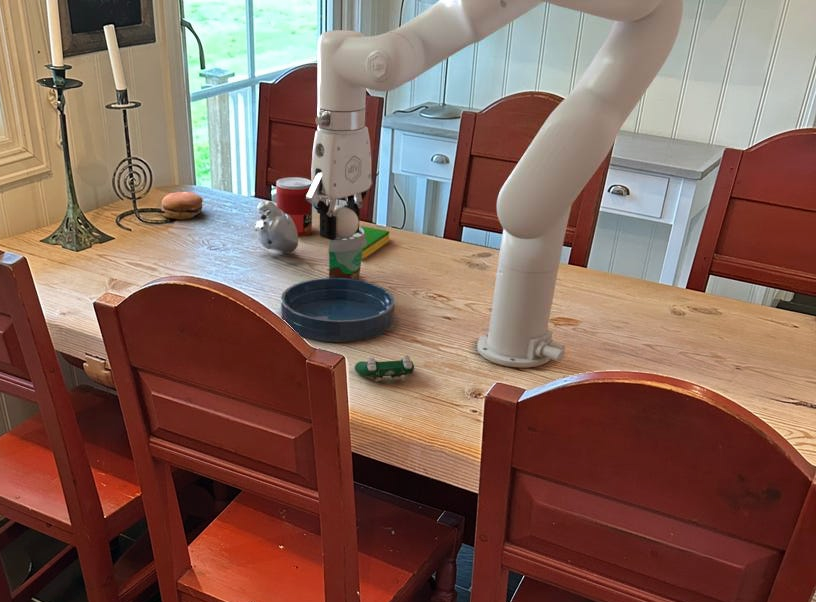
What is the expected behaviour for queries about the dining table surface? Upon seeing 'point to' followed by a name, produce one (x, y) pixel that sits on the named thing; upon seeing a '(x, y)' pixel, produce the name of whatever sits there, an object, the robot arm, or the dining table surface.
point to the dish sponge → (374, 240)
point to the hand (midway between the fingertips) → (339, 233)
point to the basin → (338, 309)
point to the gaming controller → (385, 368)
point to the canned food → (295, 202)
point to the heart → (276, 228)
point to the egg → (345, 222)
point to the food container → (346, 256)
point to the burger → (181, 205)
